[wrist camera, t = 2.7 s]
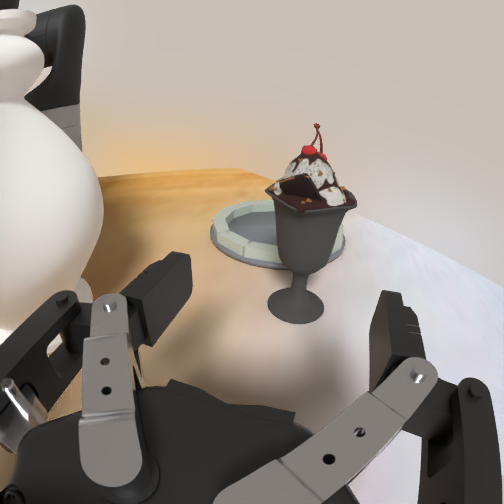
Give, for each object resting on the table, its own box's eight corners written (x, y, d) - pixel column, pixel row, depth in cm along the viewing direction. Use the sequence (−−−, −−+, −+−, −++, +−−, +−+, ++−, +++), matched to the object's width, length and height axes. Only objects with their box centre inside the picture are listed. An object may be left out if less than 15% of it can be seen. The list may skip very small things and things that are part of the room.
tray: (222, 276, 30) (221, 261, 29) (203, 213, 44) (203, 202, 43) (370, 261, 34) (373, 248, 33) (311, 208, 48) (312, 198, 47)
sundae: (307, 277, 30) (327, 122, 23) (347, 318, 25) (386, 136, 18) (245, 291, 28) (253, 118, 21) (279, 340, 22) (303, 128, 15)
